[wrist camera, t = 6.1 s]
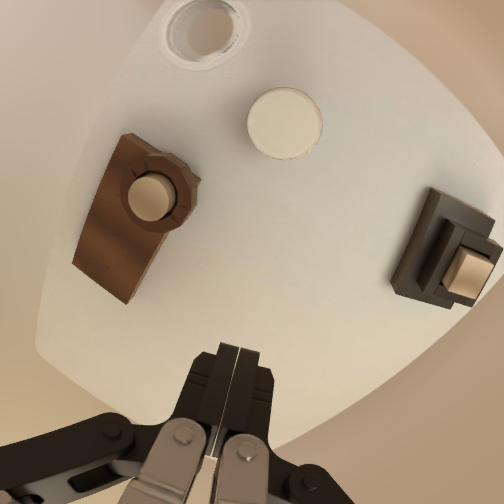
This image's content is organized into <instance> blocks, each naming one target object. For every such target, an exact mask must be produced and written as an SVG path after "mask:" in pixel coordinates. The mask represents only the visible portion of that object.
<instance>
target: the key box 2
mask: <svg viewBox="0 0 504 504" xmlns="http://www.w3.org/2000/svg"><path fill="white" fill-rule="evenodd" d="M494 223H495V220H494V219H492V218H491V217H490V216H488V215H487V214H485V213H484V212H482V211H480V210H478V209H476V208H474V207H472V206H470V205H468V204H466V203H464V202H462V201H460V200H458V199H456V198H454V197H452V196H449V195H447V194H445V193H443V192H441V191H439V190H436V189H434V188H431V190H430V193H429V196H428V198H427V201H426V203H425V206H424V208H423V211H422V213H421V216H420V218H419V221H418V223H417V225H416V228H415V230H414V232H413V235H412V237H411V239H410V242H409V244H408V246H407V248H406V250H405V253H404V255H403V257H402V259H401V261H400V263H399V265H398V268H397V270H396V272H395V274H394V276H393V278H392V280H391V285H392V287H393V289H394V291H395V294H397V295H401V296H404V297H408V298H411V299H415V300H418V301H422V302H426V303H429V304H433V305H436V306H440V307H443V308H447V309H451V307H452V306H453V304H454V302H456V303H459V304H463V305H465V306H469V307H473V305H474V303H475V302H476V300H477V298H478V296H479V295H480V293H481V291H482V289H483V288H484V286H485V284H486V282H487V280H488V279H489V277H490V275H491V273H492V271H493V269H494V267H495V265H496V263H497V261H498V259H499V257H500V255H501V253H502V251H503V248H502V247H501V246H500V245H499V244H498V243H497V242H496V241H494V240H492V239H490V238H488V237H489V235H490V232H491V230H492V228H493V225H494ZM459 245H460V246H462V247H465V248H467V249H469V250H472V251H474V252H476V253H479V254H481V255H483V256H485V257H486V258H487V259H488V260H489V261H490V262H491V263H492V264H493V265H494V267H493V268H492V270H491V272H490V274H489V276H488V278H487V280H486V282H485V283H484V285H483V287H482V289H481V291H480V292H479V294H478V296H477V298H476V299H472V298H469V297H466V296H463V295H459V294H456V293H453V292H450V291H448V290H447V288H446V287H445V286H444V284H443V283H442V281H441V280H442V278H443V276H444V274H445V272H446V270H447V268H448V266H449V264H450V262H451V260H452V258H453V256H454V254H455V252H456V250H457V248H458V246H459Z"/></svg>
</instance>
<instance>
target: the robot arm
mask: <svg viewBox="0 0 504 504" xmlns="http://www.w3.org/2000/svg"><path fill="white" fill-rule="evenodd" d="M238 350H239V347H237V346H233V345H229V344H225V343H222V342H220V345H219V348H218V351H217V354H216V355H214V354H210V353H206V352H202V353H201V354H200V355H199V356H198V357H196V358H195V359H194V361H193V363H192V366H191V368H190V371H189V373H188V376H187V379H186V381H185V384H184V386H183V389H182V391H181V394H180V396H179V399H178V401H177V404H176V407H175V409H174V412H173V414H172V415H171V417H170V418H169V419H168V420H167V421H165V422H163V423H161V424H158V425H135V424H131V422H130V421H129V420H128V419H127V418H126V417H124V416H122V415H120V414H118V413H112V412H108V413H103V414H100V415H97V416H95V417H92V418H89V419H87V420H84V421H81V422H78V423H76V424H73V425H70V426H67V427H64V428H61V429H58V430H55V431H52V432H49V433H46V434H43V435H39V436H36V437H33V438H30V439H27V440H23V441H20V442H16V443H13V444H9V445H6V446H1V447H0V504H67V503H70V502H73V501H75V500H78V499H81V498H84V497H87V496H89V495H92V494H94V493H97V492H100V491H102V490H104V489H107V488H109V487H112V486H114V485H116V484H119V483H121V482H123V481H126V480H128V479H130V478H132V477H135V478H133V479H132V480H131V481H130V482H129V483H128V485H127V487H126V489H125V490H124V492H123V494H122V496H121V498H120V500H119V502H118V504H186V502H187V499H188V497H189V494H190V492H191V489H192V487H193V484H194V481H195V479H196V476H197V474H198V473H199V471H200V469H201V466H202V463H203V459H204V456H205V455H208V456H210V455H211V452H212V449H213V445H214V442H215V439H216V436H217V439H216V443H215V447H214V451H213V455H212V457H216V458H218V460H217V464H216V468H215V471H214V474H213V478H212V484H211V491H210V498H209V504H355V503H353V501H352V500H351V499H350V498H349V497H348V496H347V494H346V493H345V492H344V491H343V490H342V489H341V487H340V486H339V485H338V484H337V483H336V482H335V480H334V479H333V478H332V477H331V476H330V475H329V473H328V472H327V471H326V470H325V469H324V468H322V467H320V466H318V465H314V464H304V465H301V466H296V465H294V464H291V463H289V462H287V461H285V460H283V459H281V458H279V457H278V456H277V455H276V454H275V453H274V452H273V451H272V450H271V448H270V446H269V443H268V431H269V423H270V414H271V406H272V397H273V388H274V378H273V375H272V373H271V370H270V369H269V368H265V367H260V366H258V361H259V355H260V352H257V351H253V350H249V349H245V348H241V349H240V352H239V356H238V359H237V362H236V358H237V354H238ZM235 362H236V366H235ZM234 366H235V369H234ZM233 370H234V373H233ZM232 374H233V376H232ZM231 378H232V380H231ZM230 382H231V384H230ZM229 386H230V388H229ZM228 390H229V392H228ZM227 394H228V396H227ZM226 398H227V400H226ZM225 402H226V404H225ZM224 406H225V408H224ZM223 410H224V412H223ZM222 414H223V416H222ZM221 418H222V419H221ZM220 422H221V423H220ZM219 426H220V427H219ZM218 429H219V431H218ZM217 433H218V435H217Z"/></svg>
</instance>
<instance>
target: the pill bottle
mask: <svg viewBox="0 0 504 504" xmlns="http://www.w3.org/2000/svg"><path fill="white" fill-rule="evenodd" d="M322 127H323V125H322V116H321V113H320V110H319V108H318V107H317V105H316V103H315V102H314V101H313V100H312V98H310V97H309V96H308V95H307V94H305V93H303V92H302V91H299V90H296V89H293V88H286V87H280V88H274V89H271V90H269V91H267V92H265V93H263V94H261V95H260V96H259V97H258V98H257V99H256V100H255V101H254V102H253V104H252V105H251V107H250V109H249V112H248V116H247V130H248V134H249V137H250V139H251V141H252V142H253V144H254V145H255V146H256V148H257V149H258V150H260V151H261V152H262V153H264V154H265V155H267V156H269V157H272V158H275V159H280V160H290V159H296V158H299V157H301V156H303V155H305V154H307V153H308V152H309V151H310V150H312V149H313V148H314V146H315V145H316V144H317V142H318V140H319V138H320V136H321V133H322Z"/></svg>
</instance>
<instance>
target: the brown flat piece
mask: <svg viewBox="0 0 504 504" xmlns="http://www.w3.org/2000/svg"><path fill="white" fill-rule="evenodd" d="M151 173H158V174H161V175H163V176H165V177H166V178H168V179H169V180H170V182H171V183H172V185H173V187H174V189H175V195H176V198H175V203H174V205H173V207H172V209H171V210H170V211H169V212H168V213H166V214H165V215H164V216H163V217H162V218H160V219H159V220H156V221H145V220H143V219H141V218H139V217H138V216H136V215H135V214H134V212H133V211H132V209H131V207H130V205H129V201H128V193H129V189H130V187H131V185H132V184H133V183H134V182H135V181H136V180H137V179H139V178H141V177H143V176H145V175H147V174H151ZM200 181H201V179H200V178H199V177H197V176H196V175H194V174H193V173H192V172H191V170H190V168H189V166H187V164H186V163H184V162H183V161H181V160H180V159H178V158H177V157H175V156H174V155H172V154H168V153H162V152H160V151H159V150H157V149H156V148H154V147H153V146H151V145H150V144H148V143H147V142H145V141H144V140H142V139H141V138H139V137H138V136H136V135H134V134H133V133H130V134H126V135H122V136H121V138H120V140H119V142H118V144H117V147H116V149H115V151H114V153H113V155H112V157H111V160H110V162H109V164H108V166H107V169H106V171H105V173H104V176H103V178H102V180H101V183H100V185H99V188H98V190H97V193H96V195H95V198H94V200H93V203H92V205H91V208H90V211H89V213H88V216H87V219H86V222H85V224H84V227H83V230H82V233H81V236H80V239H79V242H78V245H77V248H76V252H75V255H74V258H73V261H72V264H73V265H75V266H76V267H77V268H78V269H80V270H81V271H82V272H83V273H85V274H86V275H87V276H88V277H90V278H91V279H92V280H94V281H95V282H96V283H98V284H99V285H100V286H102V287H103V288H104V289H105V290H107V291H108V292H110V293H111V294H112V295H114V296H115V297H116V298H118V299H119V300H120V301H122V302H123V303H125V304H126V305H127V304H128V303H129V301H130V300H131V299H132V297H133V296H134V295H135V293H136V291H137V289H138V287H139V285H140V283H141V281H142V280H143V278H144V276H145V274H146V272H147V270H148V269H149V267H150V265H151V263H152V261H153V260H154V258H155V256H156V254H157V252H158V251H159V249H160V247H161V245H162V244H163V242H164V240H165V238H166V237H167V235H168V233H169V232H170V231H171V230H173V229H176V228H178V227H180V226H181V225H182V224H183V223H184V222H185V221H186V220H187V219H188V218H189V216H190V214H191V213H192V211H193V210H194V208H195V206H196V205H197V186H198V184H199V182H200Z"/></svg>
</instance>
